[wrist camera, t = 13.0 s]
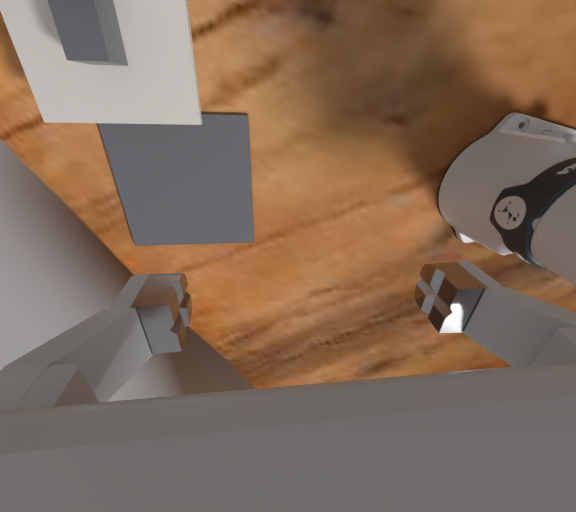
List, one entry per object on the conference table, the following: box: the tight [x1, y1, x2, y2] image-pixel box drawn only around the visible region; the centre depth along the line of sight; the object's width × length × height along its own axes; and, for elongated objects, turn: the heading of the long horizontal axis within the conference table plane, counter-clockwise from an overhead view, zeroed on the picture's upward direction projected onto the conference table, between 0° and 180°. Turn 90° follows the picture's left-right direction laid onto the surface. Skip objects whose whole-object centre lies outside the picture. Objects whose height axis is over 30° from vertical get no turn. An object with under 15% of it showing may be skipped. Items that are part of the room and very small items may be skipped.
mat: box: [98, 114, 254, 246], centre depth 35 cm, size 17×17×1 cm
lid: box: [0, 0, 202, 125], centre depth 21 cm, size 14×14×4 cm
